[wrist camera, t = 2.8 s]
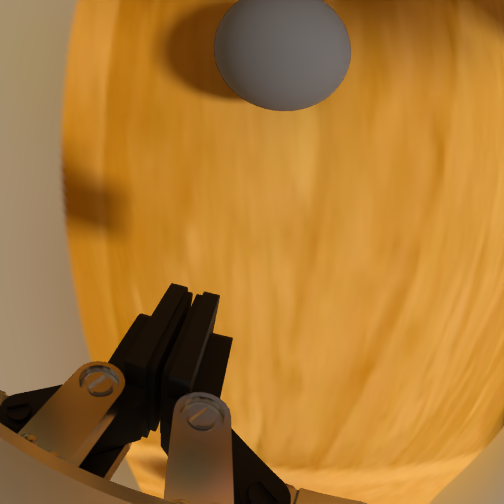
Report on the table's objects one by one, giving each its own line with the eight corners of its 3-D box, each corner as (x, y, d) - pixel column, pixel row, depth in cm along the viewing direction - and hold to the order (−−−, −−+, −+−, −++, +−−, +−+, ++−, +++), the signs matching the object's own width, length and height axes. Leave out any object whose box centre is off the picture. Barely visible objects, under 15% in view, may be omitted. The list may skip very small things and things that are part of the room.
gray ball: (330, 9, 12) (348, -36, 7) (346, 108, 14) (375, 104, 9) (221, 20, 12) (190, -20, 8) (235, 118, 15) (208, 119, 10)
